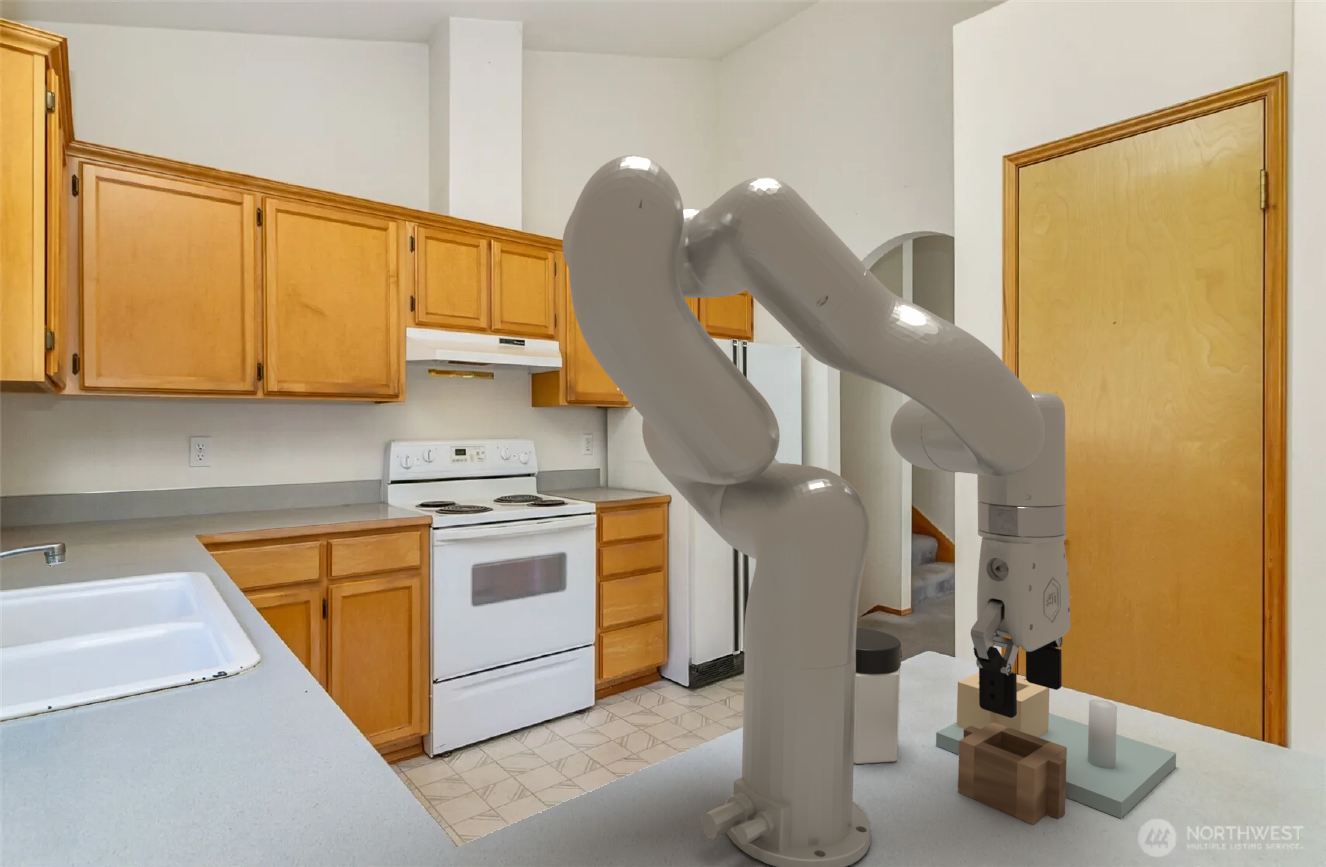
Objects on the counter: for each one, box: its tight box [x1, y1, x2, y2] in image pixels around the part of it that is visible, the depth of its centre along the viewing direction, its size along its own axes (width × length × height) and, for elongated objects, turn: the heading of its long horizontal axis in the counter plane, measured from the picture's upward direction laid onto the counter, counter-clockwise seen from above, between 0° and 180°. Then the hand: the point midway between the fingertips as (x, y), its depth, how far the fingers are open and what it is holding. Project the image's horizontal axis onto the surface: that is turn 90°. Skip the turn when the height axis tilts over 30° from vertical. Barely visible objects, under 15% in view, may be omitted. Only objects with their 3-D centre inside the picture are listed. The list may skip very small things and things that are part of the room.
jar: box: [854, 627, 903, 765], centre depth 77 cm, size 9×8×12 cm
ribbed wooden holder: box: [957, 722, 1067, 826], centre depth 67 cm, size 7×9×5 cm
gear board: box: [935, 672, 1177, 820], centre depth 75 cm, size 16×18×8 cm
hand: (1021, 698), depth 67 cm, fingers open, 9 cm apart
